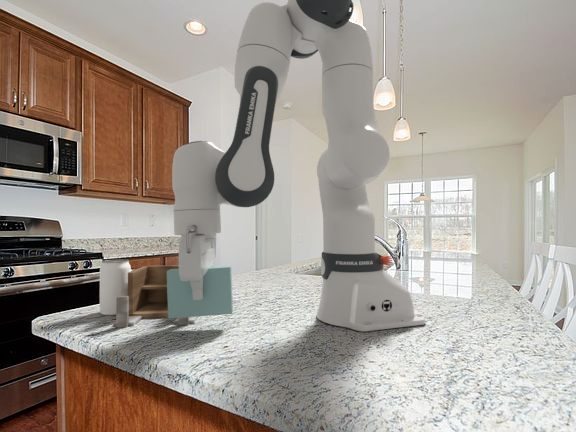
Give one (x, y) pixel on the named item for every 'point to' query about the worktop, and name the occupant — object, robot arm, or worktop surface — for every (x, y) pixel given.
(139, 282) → the cabinet
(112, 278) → the can
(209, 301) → the door
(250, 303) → the worktop surface
